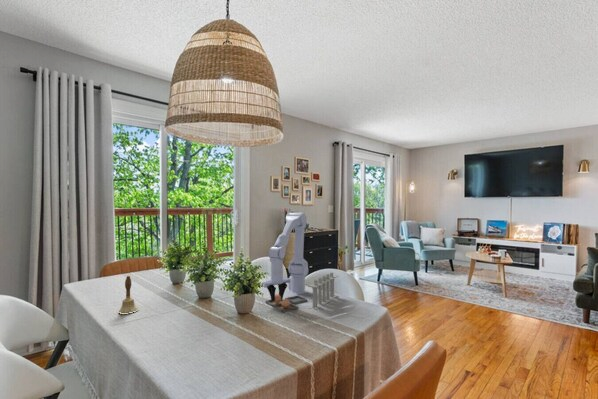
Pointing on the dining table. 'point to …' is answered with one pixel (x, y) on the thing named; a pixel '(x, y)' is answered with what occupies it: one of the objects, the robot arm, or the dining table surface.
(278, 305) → the pair tray
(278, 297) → the terracotta ball
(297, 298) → the shallow grey square tray
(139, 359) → the dining table surface
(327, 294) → the test tube rack
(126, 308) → the hand bell
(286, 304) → the ball
